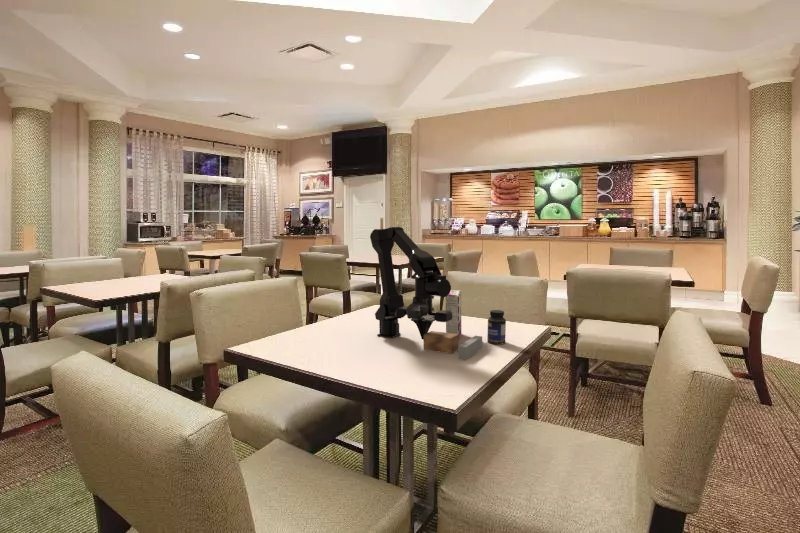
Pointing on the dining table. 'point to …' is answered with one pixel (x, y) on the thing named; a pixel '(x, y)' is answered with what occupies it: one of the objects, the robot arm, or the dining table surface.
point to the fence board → (469, 347)
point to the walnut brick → (441, 342)
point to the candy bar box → (454, 312)
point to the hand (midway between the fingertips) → (423, 339)
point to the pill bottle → (496, 327)
